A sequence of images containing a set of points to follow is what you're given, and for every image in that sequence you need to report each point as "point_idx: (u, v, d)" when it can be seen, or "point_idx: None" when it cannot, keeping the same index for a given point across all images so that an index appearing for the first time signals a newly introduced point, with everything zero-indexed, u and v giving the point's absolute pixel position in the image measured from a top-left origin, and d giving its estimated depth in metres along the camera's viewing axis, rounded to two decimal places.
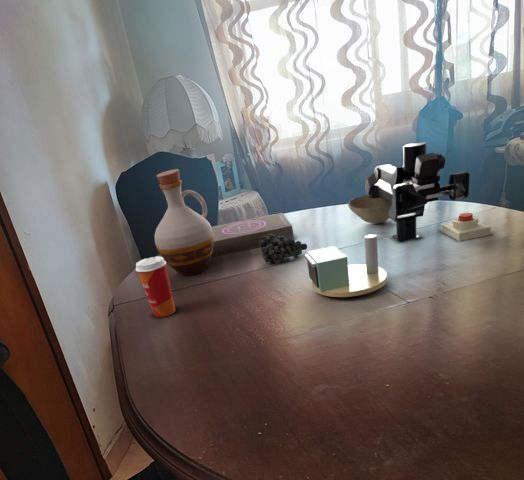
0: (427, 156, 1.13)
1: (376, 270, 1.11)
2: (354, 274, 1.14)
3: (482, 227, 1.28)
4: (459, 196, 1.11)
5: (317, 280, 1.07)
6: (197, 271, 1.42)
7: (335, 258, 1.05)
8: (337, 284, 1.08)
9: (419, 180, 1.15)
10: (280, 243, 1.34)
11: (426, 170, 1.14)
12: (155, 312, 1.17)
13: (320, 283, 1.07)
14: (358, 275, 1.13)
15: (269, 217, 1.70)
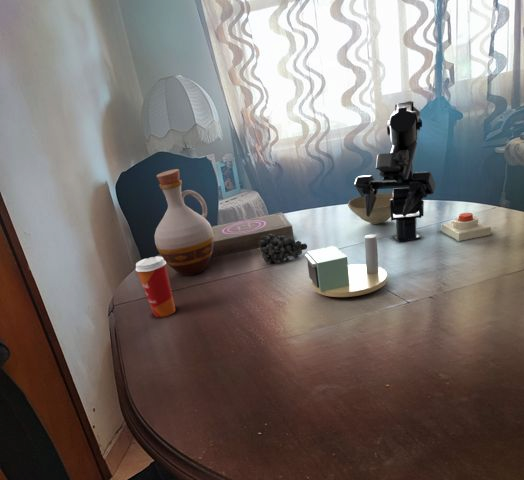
0: (384, 159, 1.08)
1: (376, 270, 1.11)
2: (354, 274, 1.14)
3: (482, 227, 1.28)
4: None
5: (317, 280, 1.07)
6: (197, 271, 1.42)
7: (335, 258, 1.05)
8: (337, 284, 1.08)
9: (382, 174, 1.13)
10: (280, 243, 1.34)
11: (386, 169, 1.10)
12: (155, 312, 1.17)
13: (320, 283, 1.07)
14: (358, 275, 1.13)
15: (269, 217, 1.70)
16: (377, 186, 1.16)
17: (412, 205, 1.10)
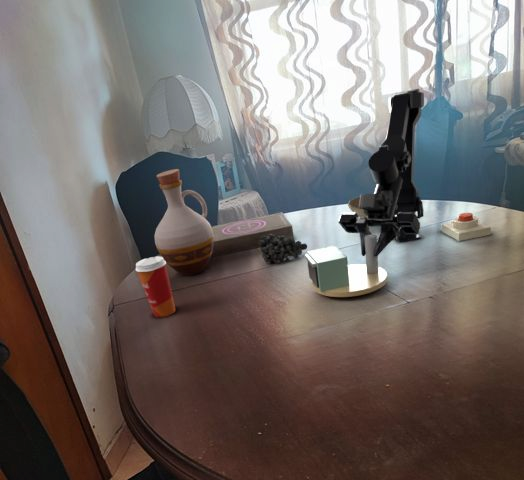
0: (367, 199, 1.05)
1: (376, 270, 1.11)
2: (354, 274, 1.14)
3: (482, 227, 1.28)
4: None
5: (317, 280, 1.07)
6: (197, 271, 1.42)
7: (335, 258, 1.05)
8: (337, 284, 1.08)
9: (366, 213, 1.10)
10: (280, 243, 1.34)
11: (369, 208, 1.07)
12: (155, 312, 1.17)
13: (320, 283, 1.07)
14: (358, 275, 1.13)
15: (269, 217, 1.70)
16: None
17: (384, 245, 1.09)
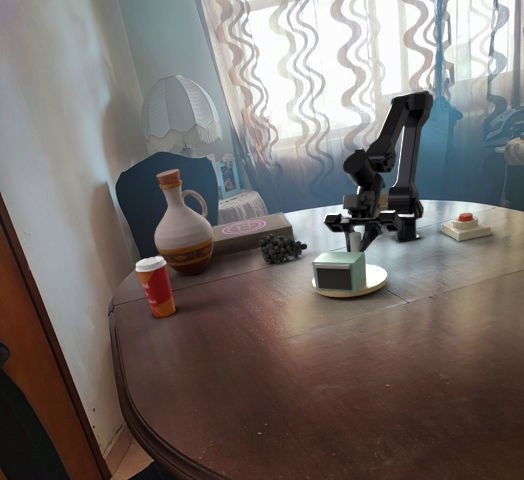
0: (350, 200, 1.09)
1: None
2: None
3: (482, 227, 1.28)
4: None
5: (350, 282, 1.03)
6: (197, 271, 1.42)
7: (358, 255, 1.04)
8: (362, 281, 1.06)
9: (349, 213, 1.14)
10: (280, 243, 1.34)
11: (353, 208, 1.12)
12: (155, 312, 1.17)
13: (355, 283, 1.03)
14: None
15: (269, 217, 1.70)
16: None
17: (368, 243, 1.14)
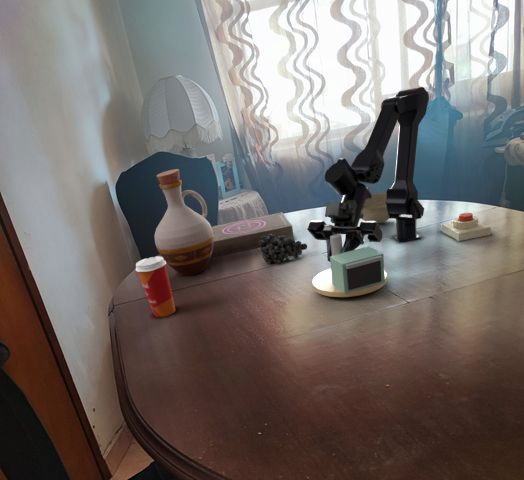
0: (332, 208, 1.10)
1: None
2: None
3: (482, 227, 1.28)
4: None
5: (380, 273, 1.04)
6: (197, 271, 1.42)
7: (371, 249, 1.06)
8: None
9: (332, 221, 1.16)
10: (280, 243, 1.34)
11: (335, 216, 1.13)
12: (155, 312, 1.17)
13: (383, 274, 1.05)
14: None
15: (269, 217, 1.70)
16: None
17: None
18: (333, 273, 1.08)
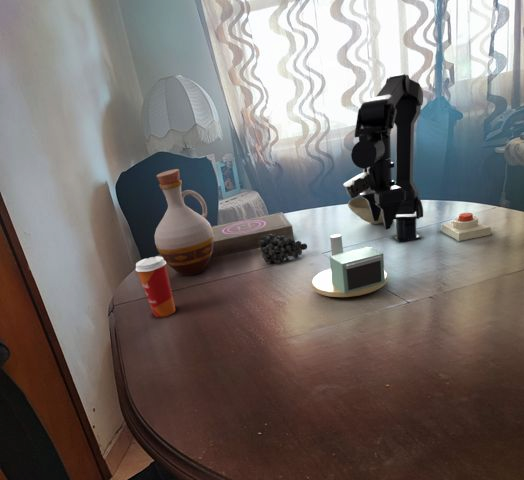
0: (346, 190, 1.12)
1: None
2: None
3: (482, 227, 1.28)
4: None
5: (380, 273, 1.04)
6: (197, 271, 1.42)
7: (371, 249, 1.06)
8: None
9: None
10: (280, 243, 1.34)
11: None
12: (155, 312, 1.17)
13: (383, 274, 1.05)
14: None
15: (269, 217, 1.70)
16: None
17: (392, 216, 1.10)
18: (333, 273, 1.08)
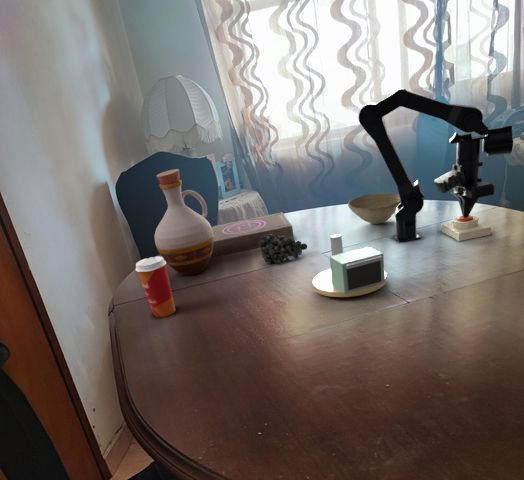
0: (437, 186, 1.26)
1: None
2: None
3: (482, 227, 1.28)
4: None
5: (380, 273, 1.04)
6: (197, 271, 1.42)
7: (371, 249, 1.06)
8: None
9: None
10: (280, 243, 1.34)
11: None
12: (155, 312, 1.17)
13: (383, 274, 1.05)
14: None
15: (269, 217, 1.70)
16: None
17: (471, 206, 1.28)
18: (333, 273, 1.08)
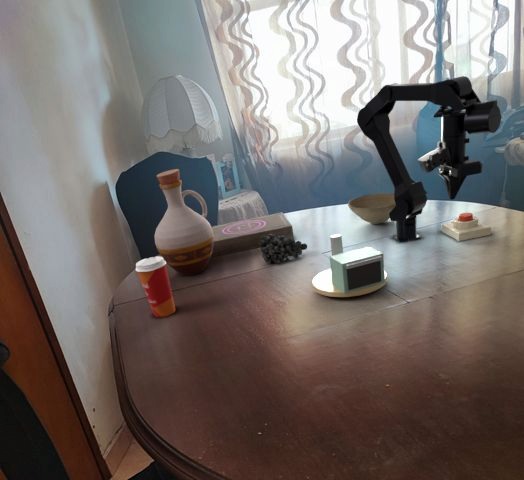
0: (421, 165, 1.18)
1: None
2: None
3: (482, 227, 1.28)
4: None
5: (380, 273, 1.04)
6: (197, 271, 1.42)
7: (371, 249, 1.06)
8: None
9: None
10: (280, 243, 1.34)
11: None
12: (155, 312, 1.17)
13: (383, 274, 1.05)
14: None
15: (269, 217, 1.70)
16: None
17: (457, 187, 1.20)
18: (333, 273, 1.08)
